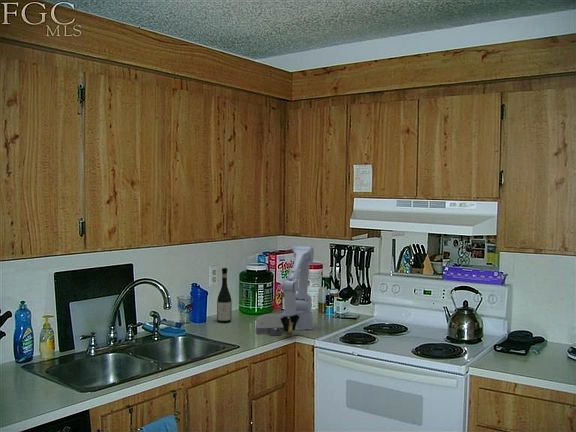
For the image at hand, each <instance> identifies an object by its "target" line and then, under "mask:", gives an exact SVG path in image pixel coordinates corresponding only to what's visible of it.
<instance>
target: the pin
mask: <svg viewBox="0 0 576 432" xmlns="http://www.w3.org/2000/svg"><path fill="white" fill-rule="evenodd" d="M293 324H294V322H291V320H290V321H289V326H288V332H286V333H285V335H287V336H292V335H293V333H292V328H293Z"/></svg>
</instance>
